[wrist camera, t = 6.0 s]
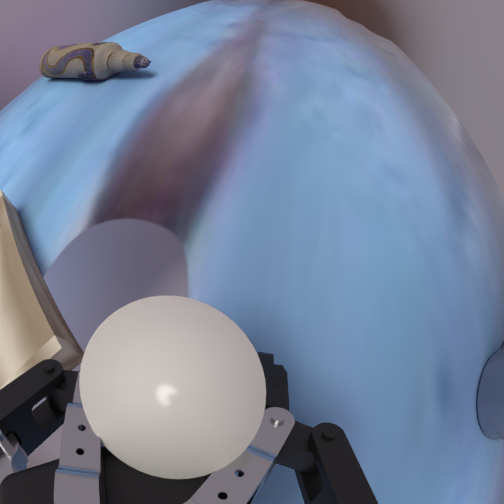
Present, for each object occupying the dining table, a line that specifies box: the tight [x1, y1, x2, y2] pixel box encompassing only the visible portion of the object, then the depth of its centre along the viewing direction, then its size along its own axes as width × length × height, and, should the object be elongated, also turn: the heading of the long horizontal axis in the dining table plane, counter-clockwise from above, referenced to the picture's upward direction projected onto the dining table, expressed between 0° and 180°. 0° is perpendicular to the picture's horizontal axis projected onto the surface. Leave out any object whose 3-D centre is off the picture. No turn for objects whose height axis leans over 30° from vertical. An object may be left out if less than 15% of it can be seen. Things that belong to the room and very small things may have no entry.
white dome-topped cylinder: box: [79, 296, 266, 479], centre depth 12 cm, size 5×5×11 cm
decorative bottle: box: [39, 42, 151, 81], centre depth 33 cm, size 26×8×7 cm, turn 65°
